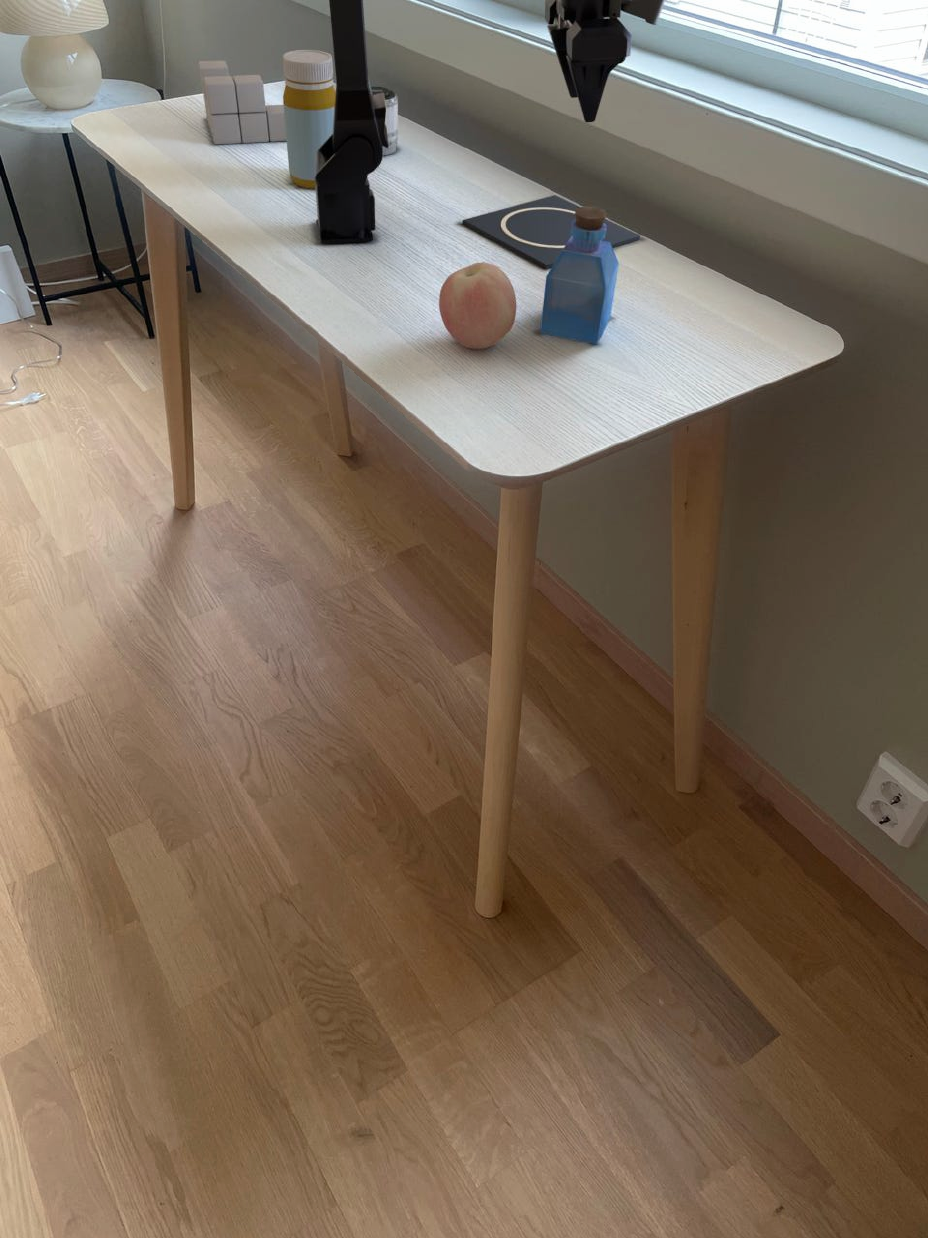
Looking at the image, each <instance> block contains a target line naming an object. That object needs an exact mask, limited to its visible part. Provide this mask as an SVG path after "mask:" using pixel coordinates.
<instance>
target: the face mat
mask: <svg viewBox="0 0 928 1238" xmlns="http://www.w3.org/2000/svg"><path fill="white" fill-rule="evenodd" d="M579 207H580V206H579V205H577V204H575V203H573V202H571V201H568V200H566V199H565V198H562V197H560V196H558V195H556V194H554V195H551V196H547V197H543V198H539V199H536V200H532V201H528V202H525V203H520V204H517V205H513V206H510V207H505V208H502V209H499V210H495V211H491V212H487V213H484V214H483V213H482V214H480V215H475V216H472V217H469V218H465V219H462V224H463V226H466V227H468V228H470V229H472V230H473V231H476V232H477V233H479V234H481V235H483V236H485V237H486V238H488V239H490V240H492V241H493V242H496V243H497V244H499V245H501V246H503V247H504V248H507V249H509V250H510V251H511V252H513V253H516V254H518V255H520V256H521V257H523V258H525V259H527V260H528V261H531V262H532V263H534V264H536V265H537V266H540V267H542V268H544V269H545V270H547V269H551V268H552V266H553V265H554V263H555V261H556V260H557V258H558V256H559V255H560V253H561V251H562V250H563V248H564V247H565V245H566V244H567V242H568V241H569V239H570V238H571V236H572V235H571V228H572V222H573V221H574V220H576V218H575V210H576V209H577V208H579ZM604 223H605V224H606V233H605V238H604V239H602V240H601V241H607V242H610V243H611V246H612V248H613V249H614V248H616V247H619V246H623V245H626V244H629V243H632V242H635V241H638V240H640V239H641V235H640V234H638V233H636V232H634V231H632V230H630V229H628V228H625V227H623V226H621V225H618V224H617V223H615V222H613V221H610V220H608V219H607V218H605V221H604Z"/></svg>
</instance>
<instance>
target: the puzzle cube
mask: <svg viewBox="0 0 928 1238" xmlns="http://www.w3.org/2000/svg"><path fill="white" fill-rule="evenodd" d="M198 66H199V74H200V80H201V89H202V91H203V92H202V94H203V95H202V96H203V101H204V102H203V103H204V108H205V116H206V120H207V124H208V127H209V130H210V133H211V137H212V140H213V143H214V145H231V144H232V145H233V144H235V145H236V144H241V143H242V144H250V143H251V144H252V143H268V142H273V143H274V142H287V140H286V128H285V117H284V105H283V104H266V96H265V88H264V81H263V80H262V78H261V76H260V74H246V75H245V74H244V75H233V76H231V75H230V73H229V66H228V65H227V62H226V61H225V60H200V61H199V62H198Z"/></svg>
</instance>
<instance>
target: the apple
mask: <svg viewBox="0 0 928 1238" xmlns="http://www.w3.org/2000/svg"><path fill="white" fill-rule="evenodd" d="M516 297H517V296H516V293H515V288H514V286H513V284H512V282H511V279H510V278H509V277H508V276H507V274H506V273H505V272H504V271H503V270H502V269H501V268H500V267H498V266H497V265H495V264H493V263H489V262H484V261H483V262H476V263H474V264H470V265H468V266H465V267H463V268H459V269H458V270H456V271H454V272H452V273H451V274H449V275H448V277H447V278H446V279H445V281H444V282H443V284H442V286H441V289H440V290H439V296H438V309H439V315H440V317H441V320H442V323H443V325H444V328H445V329H446V331H447V332H448V334H449V335H450V336H451V337H452V338H453V339H454V340H455V341H456V342H457V343H459V344H460V345H462V347H463V346H464V347H465V348H468V349H473V350H475V349H476V350H478V349H479V350H481V349H487V348H490V347H492V346H493V345H495V344H497V343H498V342H500V341H501V340H502V339H504V338H505V336H506V335H508V333H509V332H510V331H511V330H512V328H513V326H514V323H515V321H516V320H515V319H516V315H517V298H516Z"/></svg>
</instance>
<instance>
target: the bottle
mask: <svg viewBox="0 0 928 1238" xmlns="http://www.w3.org/2000/svg"><path fill="white" fill-rule="evenodd" d="M282 65H283V75H284V84H285V86H284V90H283V93H282V94H283V95H282V105H284V117H285V128H286V140H287V141H286V149H287V161H288V163H287V164H288V172H289V178H290V179H291V181H292V182H293V183H294V184H295V185H297V186H299V187H301V188H305V189H313V190H316V188H315V177H316V163H317V150H318V149H319V148H320V147H321V146H322V145H323V144H324V143H325V141H326V140H327V139H328V138H329V137H330V136H331V135H332V134H333V121H334V106H335V93H336V88H335V87H334V66H333V65H334V64H333V56H332V54H330V53H329V52H325V51H323V50H318V49H317V50H316V49H297V50H291V51H288V52H285V53H284V54H283V56H282Z"/></svg>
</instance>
